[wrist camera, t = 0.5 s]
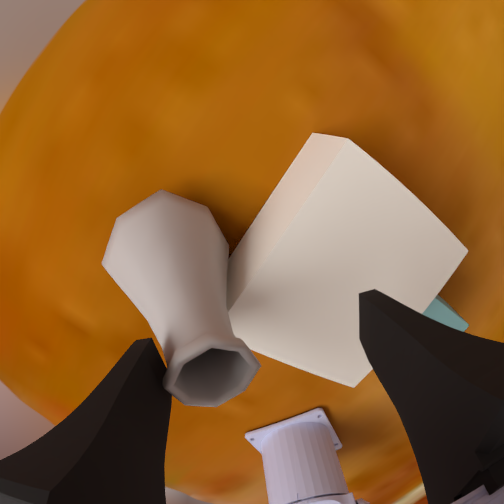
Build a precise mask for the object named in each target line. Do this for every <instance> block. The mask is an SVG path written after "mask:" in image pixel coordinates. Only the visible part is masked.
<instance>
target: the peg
mask: <svg viewBox="0 0 504 504" xmlns="http://www.w3.org/2000/svg"><path fill="white" fill-rule="evenodd" d="M422 314H423V315H425V316H427V317H429V318H431V319H433V320H436V321H438V322H440V323H442V324H444V325H447V326H449V327H452V328H454V329H457V330H460V331H463V332H464V331H465V330H466V329H467V327H468V326H469V324H468V323H467V322H466V321H465V320H464V319H463V318H462V317H461V316H460V315H459V314H458V313H457V312H456V311H455V310H454V309H453V308H452V307H451V306H450V305H449V304H448V303H447V302H446V301H445V300H444V299H442V298H441V297H440V296H439V295H436V297H435V298H434V299H433V301H432V302H431V303H430V304H429V306H428V307H427V308H426V309H425V311H424V312H423V313H422Z"/></svg>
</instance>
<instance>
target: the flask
mask: <svg viewBox="0 0 504 504" xmlns="http://www.w3.org/2000/svg"><path fill="white" fill-rule="evenodd" d="M228 257H229V244H228V242H227V241H226V239H225V237H224V235H223V233H222V232H221V230H220V228H219V226H218V225H217V223H216V221H215V219H214V217H213V216H212V214H211V212H210V210H209V208H208V207H207V206H204V205H202V204H199V203H196V202H194V201H191V200H188V199H186V198H183V197H180V196H178V195H175V194H172V193H170V192H167V191H164V190H162V189H161V190H159V191H158V192H156V193H155V194H153V195H151V196H150V197H148V198H147V199H145V200H144V201H142V202H140V203H139V204H137V205H136V206H134V207H133V208H131V209H130V210H128V211H127V212H125V213H124V214H122V215H121V216H119V217H118V218H117V219H116V222H115V225H114V228H113V230H112V233H111V236H110V239H109V242H108V245H107V249H106V252H105V255H104V258H103V261H102V265H103V266H104V268H105V269H106V270H107V272H108V273H109V274H110V275H111V277H112V278H113V279H114V280H115V282H116V283H117V284H118V285H119V286H120V288H121V289H122V290H123V291H124V292H125V294H126V295H127V296H128V297H129V298H130V299H131V301H132V302H133V303H134V304H135V306H136V307H137V308H138V309H139V311H140V312H141V313H142V314H143V315H144V317H145V318H146V319H147V320H148V322H149V324H150V326H151V328H152V330H153V332H154V334H155V335H156V337H157V339H158V341H159V343H160V345H161V346H162V349H163V353H164V356H165V360H166V363H167V367H168V368H167V370H166V373H165V375H164V377H163V386H164V389H165V390H167V391H168V392H169V393H170V394H171V395H173V396H174V397H175V398H176V399H178V400H179V401H180V402H182V403H183V404H184V405H190V406H207V407H217V406H219V405H221V404H223V403H224V402H226V401H228V400H230V399H231V398H233V397H235V396H236V395H238V394H240V393H242V392H243V391H245V390H246V388H247V387H248V385H249V384H250V382H251V381H252V379H253V378H254V376H255V375H256V373H257V371H258V370H259V368H260V367H261V365H260V363H259V361H258V360H257V358H256V357H255V356H254V354H253V353H252V352H251V350H250V349H249V348H248V346H247V345H246V344H245V342H244V341H243V340H242V339H241V338H237V337H235V335H234V333H233V330H232V326H231V322H230V318H229V314H228V310H227V306H226V298H227V267H228Z"/></svg>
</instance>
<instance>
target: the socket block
mask: <svg viewBox="0 0 504 504" xmlns="http://www.w3.org/2000/svg"><path fill="white" fill-rule="evenodd" d="M467 252H468V250H467V249H466V248H465V246H464V245H463V244H462V243H461V242H460V241H459V240H458V239H457V238H456V237H455V236H454V234H453V233H452V232H451V231H450V230H449V229H448V228H447V227H446V226H445V225H444V224H443V223H442V222H441V221H440V220H439V219H438V218H437V217H436V216H435V215H434V214H433V213H432V212H431V211H430V210H429V209H428V208H427V207H426V206H425V205H424V204H423V203H422V202H421V201H420V200H419V199H418V198H417V197H416V196H415V195H414V194H413V193H411V192H410V191H409V190H408V189H407V188H406V187H405V186H404V185H403V184H402V183H401V182H399V181H398V180H397V179H396V178H395V177H394V176H393V175H392V174H390V173H389V172H388V171H387V170H386V169H385V168H384V167H382V166H381V165H380V164H379V163H378V162H377V161H375V160H374V159H373V158H372V157H371V156H369V155H368V154H367V153H366V152H365V151H363V150H362V149H361V148H360V147H358V146H357V145H356V144H355V143H353V142H352V141H351V140H349V139H348V138H343V137H337V136H331V135H325V134H319V133H312V134H311V136H310V137H309V139H308V140H307V142H306V143H305V145H304V146H303V148H302V149H301V151H300V152H299V154H298V155H297V157H296V158H295V160H294V161H293V162H292V164H291V165H290V167H289V168H288V170H287V171H286V173H285V174H284V176H283V177H282V179H281V180H280V182H279V183H278V185H277V186H276V188H275V189H274V191H273V192H272V194H271V195H270V197H269V198H268V200H267V201H266V203H265V204H264V206H263V208H262V209H261V211H260V212H259V214H258V215H257V217H256V218H255V220H254V221H253V223H252V224H251V226H250V227H249V229H248V230H247V232H246V233H245V235H244V236H243V238H242V239H241V241H240V242H239V244H238V246H237V247H236V249H235V250H234V252H233V253H232V255H231V256H230V258H229V259H228V267H227V298H226V306H227V310H228V314H229V318H230V322H231V326H232V330H233V333H234V335H235V337H237V338H241V339H242V340H243V341H244V342H245V344H246V345H247V346H248V348H249V349H251V350H253V351H256V352H258V353H261V354H263V355H266V356H268V357H271V358H273V359H276V360H278V361H281V362H283V363H286V364H289V365H291V366H294V367H296V368H299V369H302V370H304V371H307V372H310V373H313V374H315V375H318V376H321V377H324V378H327V379H329V380H332V381H335V382H338V383H341V384H344V385H347V386H350V387H353V388H354V387H355V386H356V385H357V384H358V383H359V382H360V381H361V380H362V379H363V378H364V377H365V376H366V375H367V374H368V373H369V372H370V371H371V370H372V369H373V368H372V366H371V364H370V363H369V361H368V359H367V356H366V354H365V352H364V349H363V347H362V344H361V342H360V339H359V293H362V292H365V291H369V290H373V289H376V290H378V291H380V292H382V293H384V294H386V295H387V296H389V297H391V298H393V299H395V300H397V301H398V302H400V303H402V304H404V305H406V306H408V307H409V308H411V309H413V310H415V311H417V312H419V313H421V314H422V313H423V312H424V311H425V309H426V308H427V307H428V306H429V304H430V303H431V302H432V301H433V299H434V298H435V297H436V295H437V294H438V293H439V292H440V290H441V289H442V288H443V286H444V285H445V284H446V282H447V281H448V279H449V278H450V277H451V275H452V274H453V273H454V271H455V270H456V268H457V267H458V266H459V264H460V263H461V261H462V260H463V258H464V257H465V255H466V254H467Z"/></svg>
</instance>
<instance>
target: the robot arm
mask: <svg viewBox="0 0 504 504" xmlns="http://www.w3.org/2000/svg"><path fill="white" fill-rule="evenodd" d="M359 339H360V342H361V344H362V347H363V349H364V352H365V354H366V356H367V359H368V361H369V363H370V364H371V366H372V368H373V370H374V371H375V373H376V375H377V377H378V378H379V380H380V382H381V383H382V385H383V387H384V388H385V390H386V392H387V394H388V395H389V397H390V399H391V400H392V402H393V404H394V406H395V407H396V409H397V411H398V413H399V415H400V418H401V420H402V422H403V425H404V427H405V430H406V432H407V435H408V437H409V440H410V443H411V446H412V448H413V451H414V454H415V457H416V460H417V463H418V466H419V470H420V473H421V476H422V480H423V483H424V487H425V491H426V495H427V500H428V504H504V343H501V342H497V341H493V340H489V339H485V338H481V337H478V336H474V335H471V334H468V333H465V332H463V331H460V330H457V329H454V328H452V327H449V326H447V325H444V324H442V323H440V322H438V321H436V320H433V319H431V318H429V317H427V316H425V315H423V314H421V313H419V312H417V311H415V310H413V309H411V308H409V307H408V306H406V305H404V304H402V303H400V302H398V301H397V300H395V299H393V298H391V297H389V296H387V295H386V294H384V293H382V292H380V291H378V290H376V289H373V290H369V291H365V292H362V293H359ZM166 370H167V369H166V367H165V365H164V363H163V360H162V358H161V356H160V354H159V352H158V350H157V348H156V346H155V344H154V342H153V340H152V338H147V339H141V340H136V341H135V342H134V343H133V344H132V345H131V346H130V347H129V349H128V350H127V351H126V352H125V353H124V355H123V356H122V357H121V358H120V360H119V361H118V362H117V363H116V364H115V366H114V367H113V368H112V369H111V371H110V372H109V373H108V374H107V375H106V377H105V378H104V379H103V380H102V381H101V382H100V384H99V385H98V386H97V387H96V388H95V389H94V390H93V391H92V393H91V394H90V395H89V396H88V397H87V398H86V399H85V400H84V401H83V402H82V403H81V404H80V405H79V406H78V407H77V408H76V409H75V410H74V411H73V412H72V413H71V414H70V415H69V416H68V417H66V418H65V419H64V420H63V421H62V422H60V423H59V424H58V425H57V426H55V427H54V428H53V429H52V430H50V431H49V432H48V433H46V434H45V435H44V436H42V437H41V438H39V439H38V440H36V441H35V442H33V443H32V444H30V445H28V446H27V447H25V448H23V449H22V450H20V451H18V452H16V453H14V454H12V455H10V456H8V457H6V458H4V459H2V460H0V504H166V498H165V476H164V462H165V450H166V442H167V434H168V427H169V419H170V412H171V403H172V395H171V394H170V393H169V392H168V391H167V390H165V389H164V386H163V377H164V375H165V373H166ZM245 438H246V439H247V440H248V441H249V442H250V443H251V444H252V445H253V446H254V447H255V448H256V449H257V450H258V451H259V452H260V453H261V454H262V458H263V465H264V472H265V479H266V486H267V493H268V500H269V504H370V503H369V502H367V501H365V500H363V499H362V498H361V499H357V500H355V499H354V496H353V493H349V491H348V488H347V485H346V482H345V479H344V475H343V472H342V469H341V466H340V463H339V460H338V456H337V453H336V450H338V449H340V448H342V444H341V442H340V440H339V438H338V436H337V434H336V433H335V431H334V429H333V427H332V425H331V423H330V422H329V420H328V418H327V416H326V414H325V412H324V410H323V409H322V408H316V409H314V410H311V411H309V412H306V413H303V414H301V415H298V416H295V417H293V418H290V419H287V420H284V421H281V422H278V423H275V424H272V425H269V426H266V427H263V428H260V429H257V430H254V431H250V432H247V433H246V434H245Z"/></svg>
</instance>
